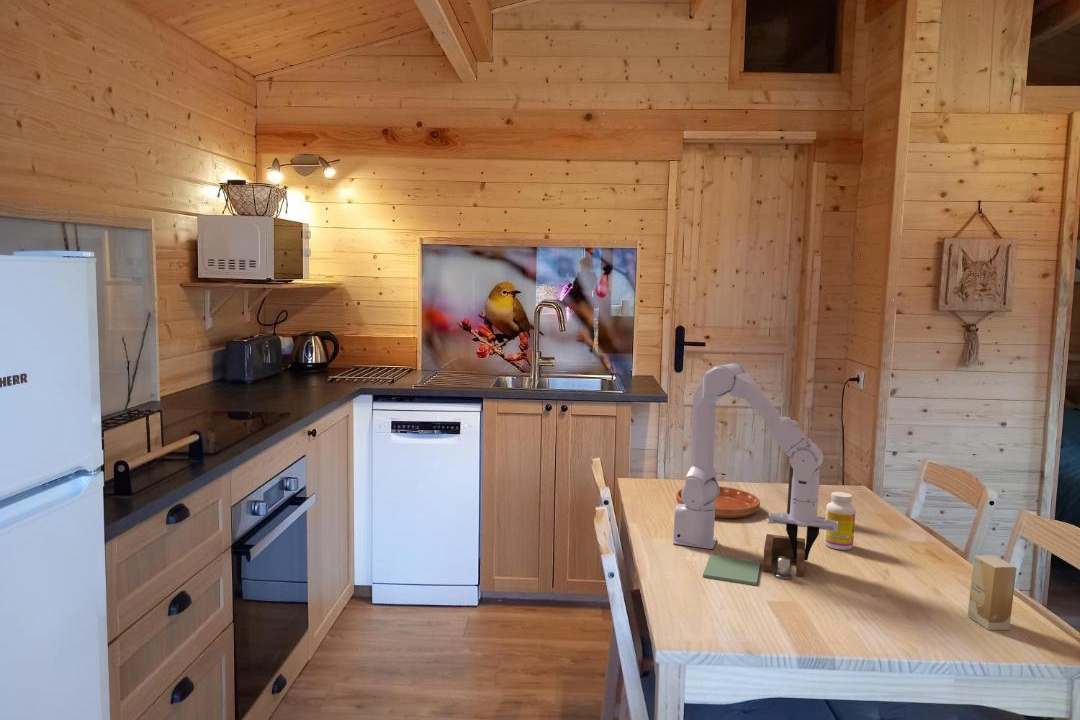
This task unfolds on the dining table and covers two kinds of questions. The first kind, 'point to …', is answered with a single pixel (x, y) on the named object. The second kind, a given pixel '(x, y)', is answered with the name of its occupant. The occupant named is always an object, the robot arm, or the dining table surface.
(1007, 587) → the skincare box
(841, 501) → the supplement bottle
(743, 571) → the green rubber mat
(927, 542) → the dining table surface
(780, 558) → the metal door knob
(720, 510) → the saucer
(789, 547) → the walnut C-link
